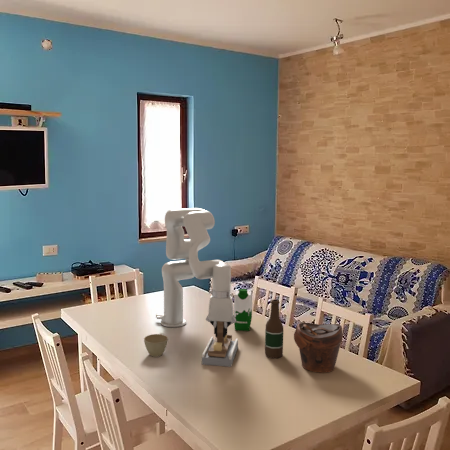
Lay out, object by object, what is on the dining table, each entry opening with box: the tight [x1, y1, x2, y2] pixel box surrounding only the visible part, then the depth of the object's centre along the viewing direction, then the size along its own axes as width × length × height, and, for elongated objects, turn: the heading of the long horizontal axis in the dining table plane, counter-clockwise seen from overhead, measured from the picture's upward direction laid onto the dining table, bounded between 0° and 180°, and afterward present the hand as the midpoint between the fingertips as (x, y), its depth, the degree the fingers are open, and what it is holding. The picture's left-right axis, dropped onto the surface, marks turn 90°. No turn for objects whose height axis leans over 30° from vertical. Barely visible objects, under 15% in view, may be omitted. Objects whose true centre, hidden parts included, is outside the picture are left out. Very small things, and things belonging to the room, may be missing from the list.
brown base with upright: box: [208, 321, 233, 357], centre depth 203 cm, size 19×7×14 cm, turn 171°
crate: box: [214, 342, 222, 351], centre depth 197 cm, size 3×3×3 cm
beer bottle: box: [264, 299, 284, 359], centre depth 204 cm, size 8×8×24 cm
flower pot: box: [143, 333, 169, 358], centre depth 204 cm, size 10×10×7 cm
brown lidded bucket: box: [293, 322, 344, 374], centre depth 194 cm, size 18×20×18 cm
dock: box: [201, 336, 239, 368], centre depth 204 cm, size 12×20×4 cm, turn 171°
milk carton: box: [233, 288, 253, 332], centre depth 236 cm, size 9×9×20 cm
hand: (220, 335), depth 203 cm, fingers closed on brown base with upright, 2 cm apart
